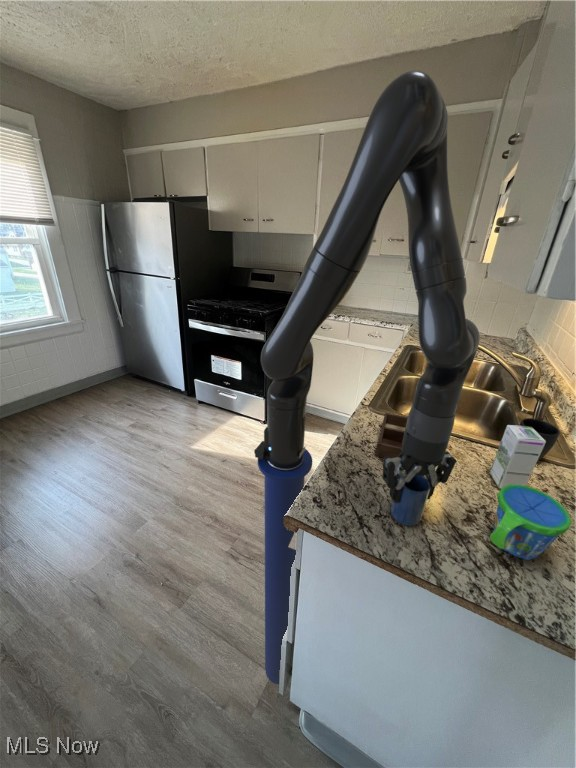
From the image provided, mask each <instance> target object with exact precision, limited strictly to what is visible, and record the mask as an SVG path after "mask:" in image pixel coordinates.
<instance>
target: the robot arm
mask: <svg viewBox="0 0 576 768" xmlns="http://www.w3.org/2000/svg"><path fill="white" fill-rule="evenodd" d="M448 122H449V114H448V109H447V106H446V103H445V101H444V99H443V96H442V94H441V92H440V89H439V88H438V86H437V84H436V82H435V81H434V80H433V78H432V77H431V76H430V75H429V74H428V73H426V72H424V71H422V70H417V69H415V70H407V71H406V72H404V73H401V74H400V75H398V76H397V77H395V78H394V79H393V80H391V82H390V83H389V84H387V85H386V87H385V88H384V89H383V90H382V92H381V93H380V95H379V97H378V98H377V100H376V102H375V104H374V105H373V107H372V109H371V112H370V114H369V117H368V119H367V122H366V125H365V126H364V127H365V128H364V129H363V132H362V135H361V138H360V140H359V143H358V146H357V149H356V151H355V154H354V157H353V159H352V162H351V164H350V167H349V170H348V173H347V175H346V178H345V180H344V182H343V185H342V186H341V189H340V190H339V193H338V195H337V197H336V199H335V201H334V204H333V206H332V208H331V210H330V212H329V214H328V216H327V219H326V221H325V223H324V225H323V227H322V230H321V231H320V234H319V235H318V238H317V239H316V241H315V243H314V246H313V247H312V249H311V251H310V254H309V256H308V258H307V260H306V262H305V265H304V267H303V268H302V272H301V273H300V276H299V278H298V280H297V283H296V285H295V287H294V289H293V291H292V294H291V295H290V298H289V300H288V303H287V304H286V307H285V309H284V311H283V313H282V315H281V317H280V319H279V320H278V322H277V324H276V326H274V329H273V330H272V332H271V333H270V335H269V336H268V338H267V340H266V341H265V344H263V347H262V349H261V352H260V365H261V368H262V371H263V372H264V374H265V376H267V377H268V378H269V379H271V380H272V382H271V384H270V385H269V387H268V389H267V396H266V402H267V403H266V405H267V406H266V407H267V409H266V410H267V411H266V412H267V413H266V414H267V418H266V419H267V420H266V421H267V422H266V427H265V428H264V430H263V440H262V441H261V442H260V443H259V444H258V445H257V447H256V448H255V449H254V451H253V452H254V457H255V458H257V459H258V458H260V459H264V461H265V462H267V463H268V464H269V465H270V466H271V467H272V468H274V469H276V470H280V471H291V470H295V469H297V468H299V467H300V466H301V465H302V463H303V453H304V451H305V449H306V446H305V436H306V435H305V434H306V433H305V432H306V418H307V401H308V396H309V392H310V389H311V387H312V377H313V368H314V358H315V357H314V355H315V354H314V348H313V343H312V342H311V340H312V338H313V336H314V335H315V334H316V332H317V331H318V329H319V328H320V327H321V326H322V324H323V323H324V322H325V321H326V320H327V319H328V318H329V316H330V315H331V314H332V313H333V312H334V311H335V309H336V308H337V307H338V306H339V305H340V303H341V302H342V301H343V300H344V298H345V297H346V295H348V293H349V291H350V290H351V289H352V287H353V285H354V283H355V281H356V279H357V278H358V276H359V275H360V273H361V271H362V269H363V268H364V265H365V264H366V262H367V259H368V256H369V254H370V251H371V248H372V245H373V242H374V238H375V234H376V230H377V226H378V223H379V220H380V216H381V213H382V212H383V209H384V206H385V204H386V203H387V200H388V199H389V197H390V195H391V193H392V191H393V190H394V188H395V186H396V184H397V183H398V182H399V185H400V187H401V190H402V195H403V198H404V202H405V203H404V204H405V208H406V215H407V235H408V236H407V237H408V238H407V239H408V258H409V265H410V271H411V276H412V281H413V285H414V291H415V294H416V298H417V301H418V302H417V304H418V308H417V311H418V312H417V323H418V324H417V325H418V326H417V327H418V330H417V331H418V339H419V340H418V341H419V347H420V350H421V353H422V355H423V357H424V359H425V360H426V361H427V365H426V367H425V369H424V372H423V373H422V374H421V376H420V377H419V379H418V381H417V384H416V387H415V391H414V396H413V400H412V405H411V407H410V409H409V412H408V414H407V417H408V419H407V424H406V428H405V432H404V437H403V441H402V452H401V453H400V454H399V456H398V457H396V458H390V457H389V456H385V457H384V458H383V461H382V462H383V463H382V479H383V481H384V483H385V485H386V486H387V488H388V489H389V493H388V495H389V497H390V499H391V500H392V502H393V501H394V502H395V503H398V502H399V500H400V496H401V492H402V489H401V488H402V487H403V485H404V484H405V483H406V482H407V483H408V482H410V480H411V479H412V478H413V477H415V476H419V475H421V476H424V477H425V478H427V479H428V481H429V482H430V485H431V488H430V491H429V495H428V498H427V501H428V500H431V498H432V496H433V495H434V493H435V489H436V487H437V486H438V485H439V483H441V484H446V483H447V482H448V480H449V478H450V476H451V473H452V472H453V470H454V467H455V465H456V464H457V459H456V458H455V457H454V456H453V455H452V454H451V453H450V451H447V449H448V445H449V442H450V439H451V435H452V432H453V429H454V425H455V419H456V418H455V417H456V413H457V410H458V406H459V403H460V400H461V396H462V391H463V386H464V384H465V381H466V379H467V376H468V374H469V372H470V369H471V368H472V366H473V363H474V360H475V357H476V355H477V352H478V349H479V346H480V342H481V341H480V340H481V339H480V338H481V336H480V331H479V328H478V327H477V325H476V324H475V323H474V321H472V320H470V319H468V318H466V311H465V305H464V304H465V302H464V301H465V297H466V295H467V291H468V290H467V287H468V286H467V278H466V272H465V267H464V260H463V255H462V250H461V246H460V240H459V236H458V231H457V227H456V222H455V218H454V216H455V215H454V213H453V208H452V201H451V194H450V185H449V172H448ZM405 471H406V473H407V474H405V473H404V472H405ZM399 478H400V480H399V481H398V479H399Z"/></svg>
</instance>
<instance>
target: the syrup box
mask: <svg viewBox="0 0 576 768" xmlns="http://www.w3.org/2000/svg"><path fill="white" fill-rule="evenodd" d="M505 428H506V430H505V429H504V431H505V432H503V435H502V438H501V440H500V443H499V445H498V449H497V451H496V454H495V456H494V459H493V462H492V464H491V467H490V470H489V475H490V476H491V478H492V479H493V481H494V483H495V485H496V486H497V488H498V489H500V490H501V489H502V488H503V487H504V486H506V485H511V484H517V485H524V486H527V485H528V482H529V480H530V478H531V476H532V473H534V472H533V471H534V469H535V467H536V465H537V463H538V462H539V461H538V458H539V456H540V454H541V452H542V450H543V447H544V445H545V443H546V441H545V440H544V439H543V438H542V437H541V436H540V435H539V434H538V433H537V432H536V431H535V430H534V429H533V428H532V427H527V426H519V424H517V425H516V424H507V425H506V427H505ZM537 461H538V462H537Z"/></svg>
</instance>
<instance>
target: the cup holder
mask: <svg viewBox="0 0 576 768" xmlns="http://www.w3.org/2000/svg"><path fill="white" fill-rule="evenodd" d="M407 419H408V416H404V415H399V414H394V413H391V412H390V413H389V412H384V416H383V419H382V423H381V428H380V433H379V437H378V440H377V446H376V451H375V457H378V458H382V459H384V457H385V456H389V457H390V458H396V457H398V456H399V454H400V453H401V452H402V441H403V437H404V432H405V428H406V424H407Z"/></svg>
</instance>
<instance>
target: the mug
mask: <svg viewBox="0 0 576 768" xmlns="http://www.w3.org/2000/svg"><path fill="white" fill-rule="evenodd" d="M518 426H527V427H532V428H533V429H534V430H535V431H536V432H537V433H538V434H539V435H540V436H541V437H542V438H543V439H544V440H545V441H546V443H545V445H544V447H543V450H542V452H541V454H540V456H539V458H538V461H537V463H539V462H540V461H541V459H543V458H544V457H545V456H546V455H547V454H548V453H549V452H550V451H551V449H552V448H553V447H554V445H555V444H556V442H557V440H558V438H559V436H560V433H561V432H560V429H559V428H558V427H557V426H556V425H553V424H551V423H549V422H547V421H544V420H541V419H538V418H529V417H527V418H523V419H521V421H520V423H519V424H518ZM505 430H506V427H505V428H504V432H505ZM504 432H503V433H504Z"/></svg>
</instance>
